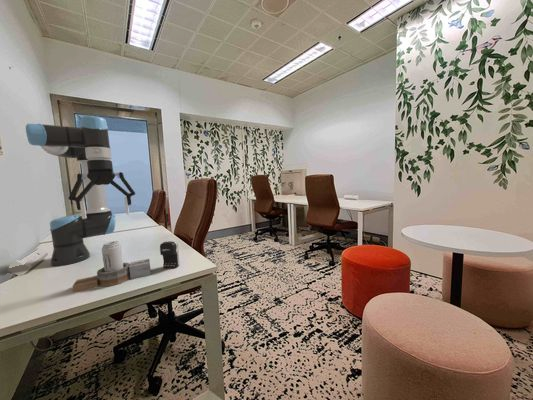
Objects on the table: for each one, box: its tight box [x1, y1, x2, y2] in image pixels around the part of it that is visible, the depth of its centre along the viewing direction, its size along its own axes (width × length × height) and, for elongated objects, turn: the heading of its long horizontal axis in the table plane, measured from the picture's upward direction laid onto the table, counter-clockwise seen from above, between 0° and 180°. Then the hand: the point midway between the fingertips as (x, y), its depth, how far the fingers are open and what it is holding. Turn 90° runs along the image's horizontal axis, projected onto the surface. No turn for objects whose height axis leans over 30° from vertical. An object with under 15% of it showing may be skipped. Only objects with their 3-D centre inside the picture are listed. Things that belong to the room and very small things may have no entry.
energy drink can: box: [101, 240, 124, 272], centre depth 85 cm, size 6×6×15 cm
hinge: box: [72, 258, 152, 294], centre depth 85 cm, size 10×24×5 cm, turn 119°
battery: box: [159, 240, 180, 269], centre depth 94 cm, size 7×4×11 cm, turn 81°
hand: (107, 216), depth 83 cm, fingers open, 13 cm apart
